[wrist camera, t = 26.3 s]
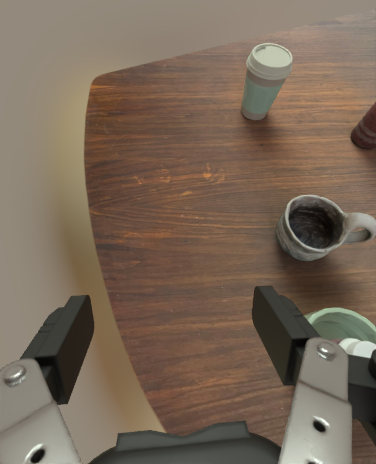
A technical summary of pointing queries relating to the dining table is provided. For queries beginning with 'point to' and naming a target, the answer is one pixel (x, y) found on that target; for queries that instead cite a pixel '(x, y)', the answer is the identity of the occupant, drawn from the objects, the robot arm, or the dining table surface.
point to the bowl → (341, 324)
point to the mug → (320, 227)
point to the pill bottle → (356, 346)
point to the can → (366, 130)
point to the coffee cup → (264, 78)
